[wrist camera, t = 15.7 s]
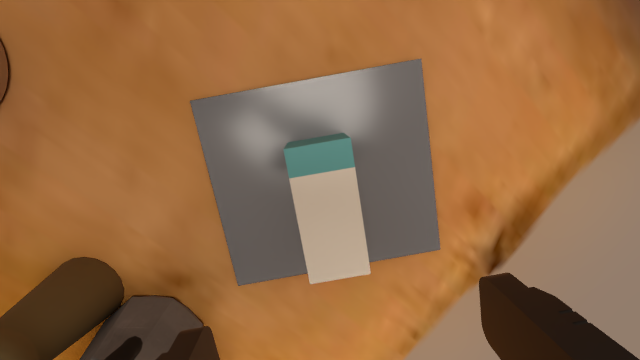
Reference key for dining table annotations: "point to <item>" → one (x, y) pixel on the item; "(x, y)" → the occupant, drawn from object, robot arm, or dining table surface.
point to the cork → (60, 310)
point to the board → (310, 122)
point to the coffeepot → (141, 329)
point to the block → (328, 207)
